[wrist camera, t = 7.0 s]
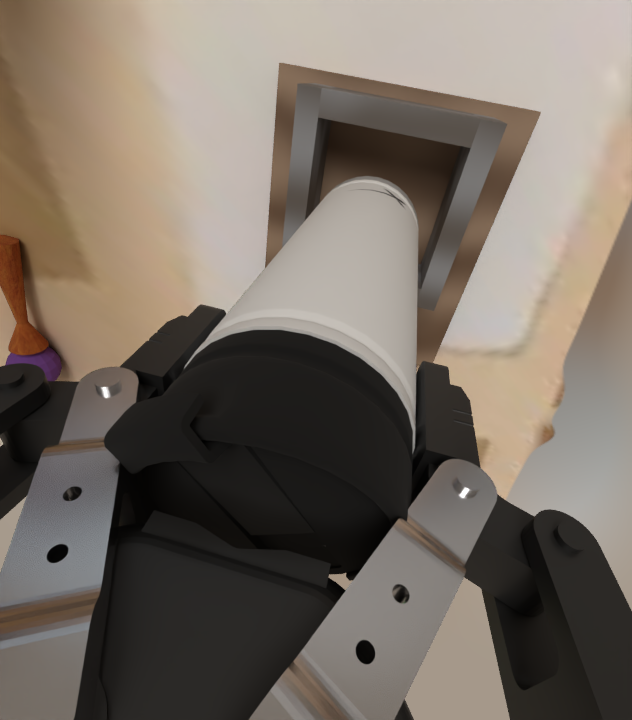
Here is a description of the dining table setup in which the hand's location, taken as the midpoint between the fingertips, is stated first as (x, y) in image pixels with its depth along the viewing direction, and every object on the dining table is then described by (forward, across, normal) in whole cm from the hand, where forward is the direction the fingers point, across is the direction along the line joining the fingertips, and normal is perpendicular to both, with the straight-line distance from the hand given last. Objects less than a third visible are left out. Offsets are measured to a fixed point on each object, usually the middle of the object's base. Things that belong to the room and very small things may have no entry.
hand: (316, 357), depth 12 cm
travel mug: (+14, 0, 0) cm, 14 cm away
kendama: (+25, +39, +23) cm, 51 cm away
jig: (+24, 0, +4) cm, 24 cm away
